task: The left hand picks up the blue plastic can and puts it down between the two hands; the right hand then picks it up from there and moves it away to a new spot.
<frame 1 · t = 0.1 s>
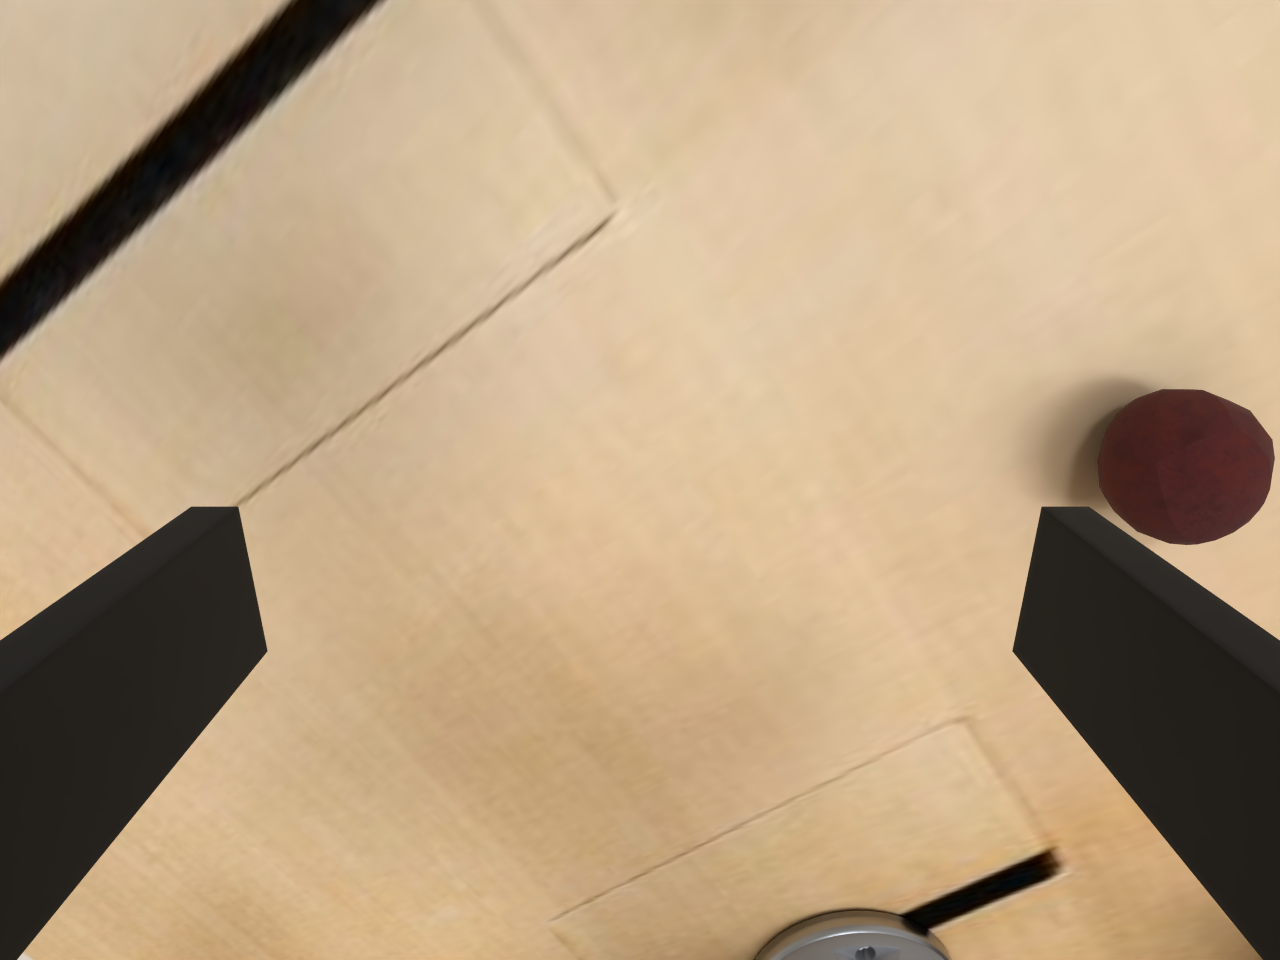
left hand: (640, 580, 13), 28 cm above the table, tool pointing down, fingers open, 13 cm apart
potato: (1136, 441, 41), on the table
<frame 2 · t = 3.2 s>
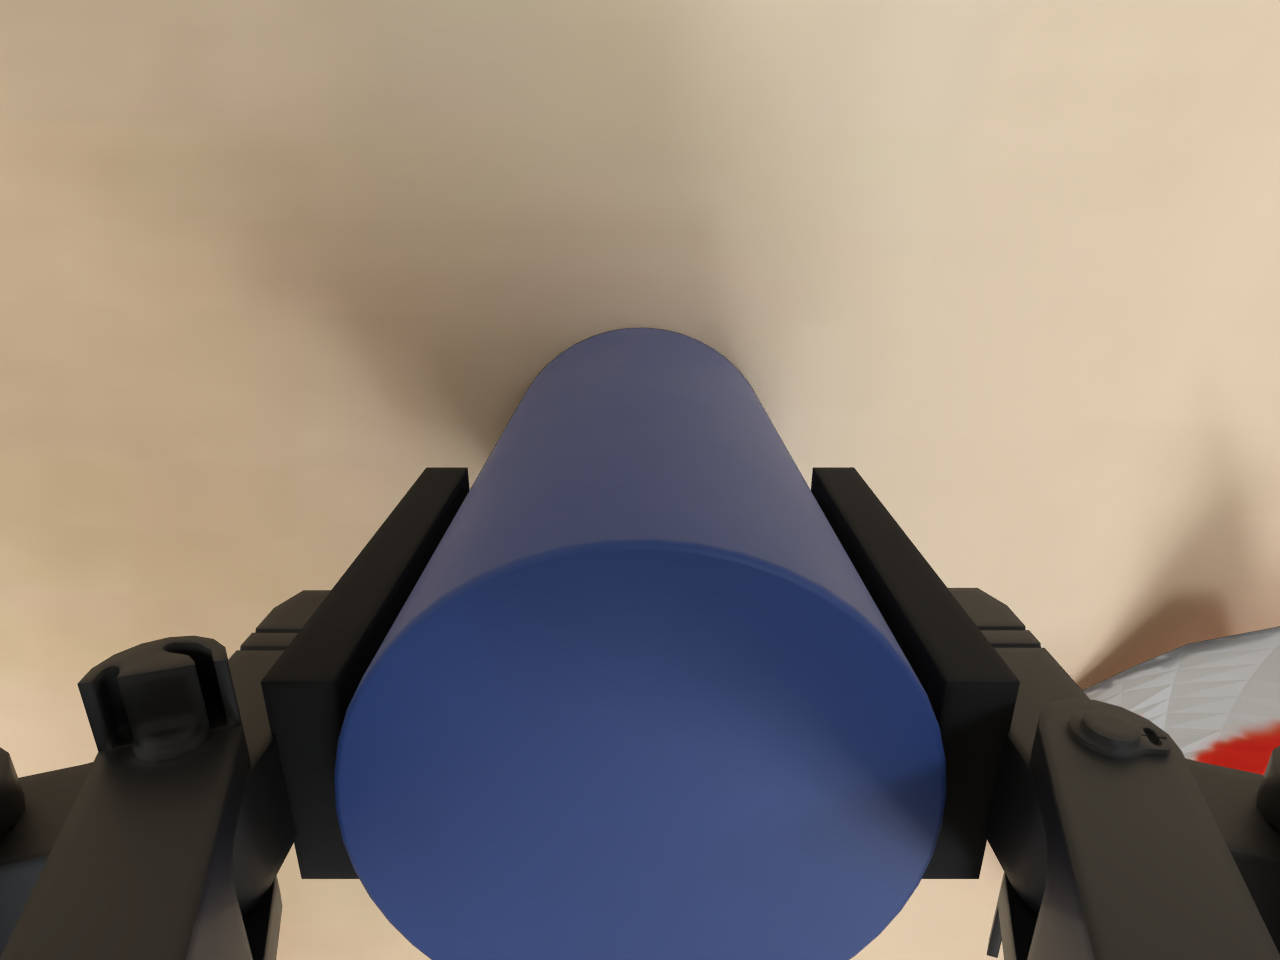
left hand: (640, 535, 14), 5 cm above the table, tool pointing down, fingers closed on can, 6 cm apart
fish: (1220, 738, 22), on the table
can: (640, 457, 19), on the table, touching left hand
when the left hand's fingers open (6 cm above the table, at t = 13.1 s): can drops 1 cm, on the table.
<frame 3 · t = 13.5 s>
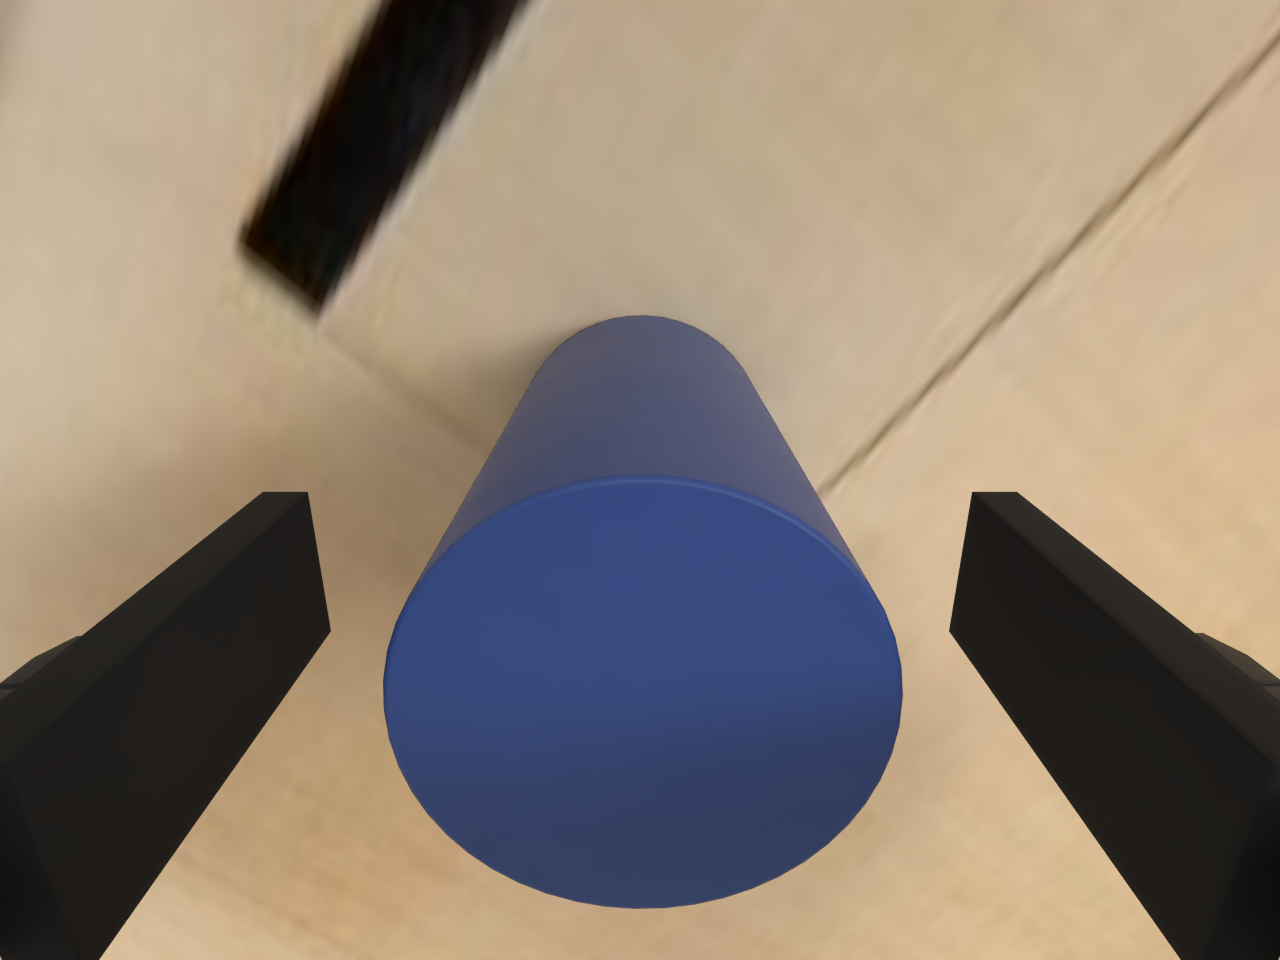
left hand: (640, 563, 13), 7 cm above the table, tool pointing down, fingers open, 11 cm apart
can: (641, 436, 20), on the table
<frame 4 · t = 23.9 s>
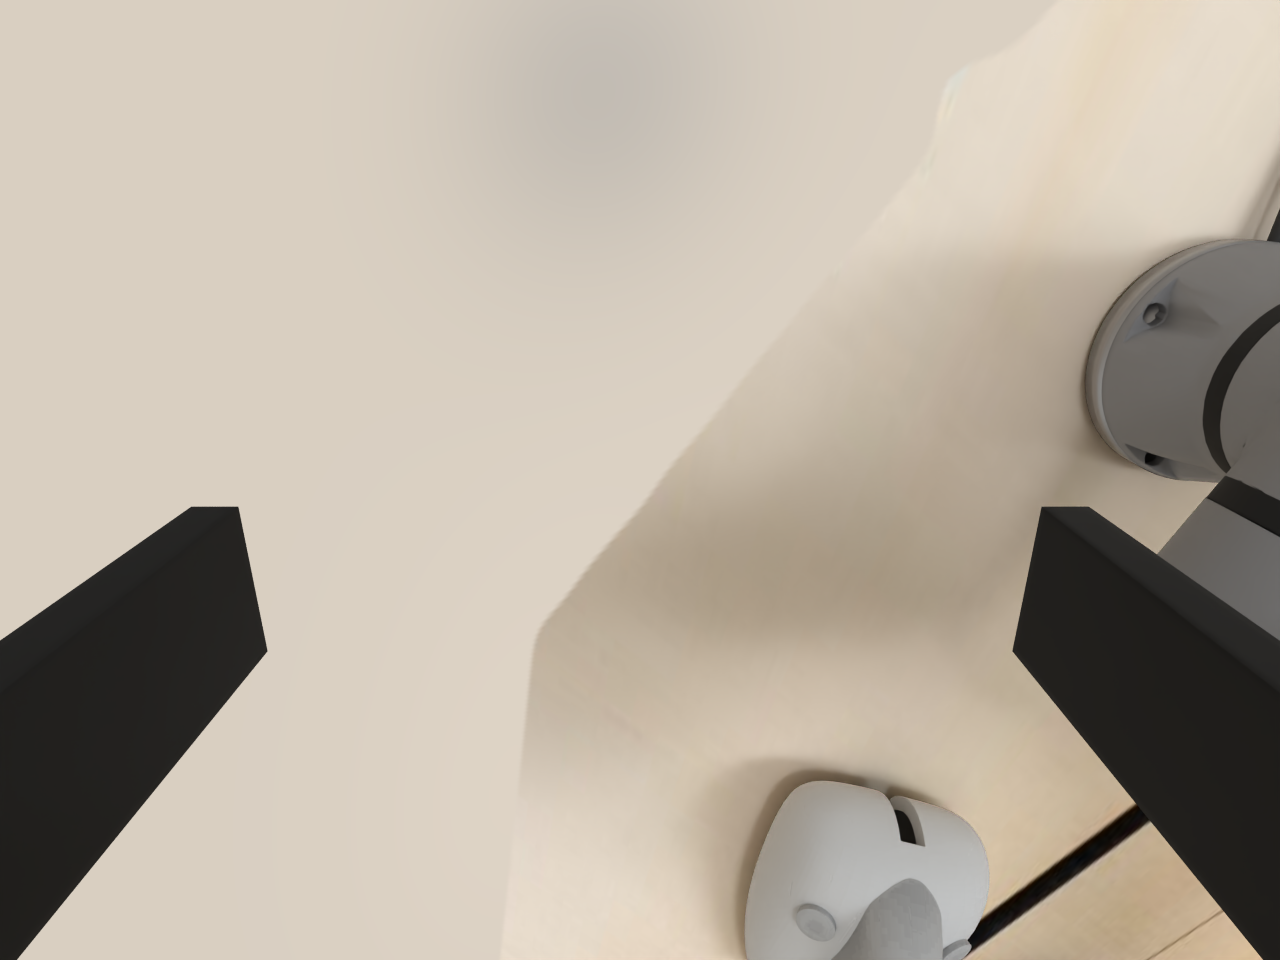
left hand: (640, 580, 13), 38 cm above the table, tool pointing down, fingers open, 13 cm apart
projector: (834, 869, 65), on the table
when the right hand's fingers open (6 cm above the table, at t = 35.5 s): can drops 1 cm, on the table.
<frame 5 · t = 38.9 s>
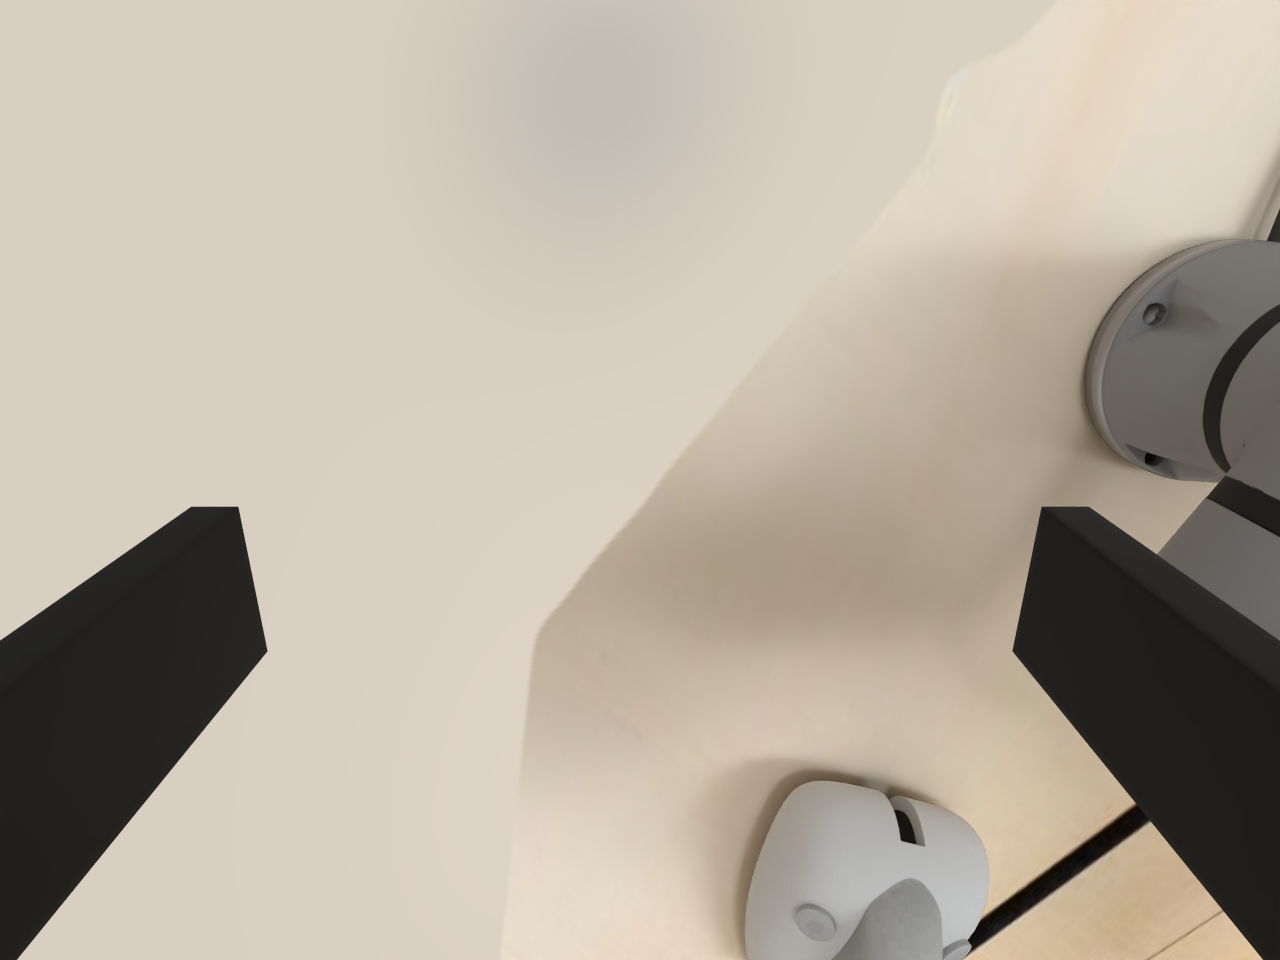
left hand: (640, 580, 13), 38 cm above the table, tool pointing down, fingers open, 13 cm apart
projector: (834, 869, 65), on the table
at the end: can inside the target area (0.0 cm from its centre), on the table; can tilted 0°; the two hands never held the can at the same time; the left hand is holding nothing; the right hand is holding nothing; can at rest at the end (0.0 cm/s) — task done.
